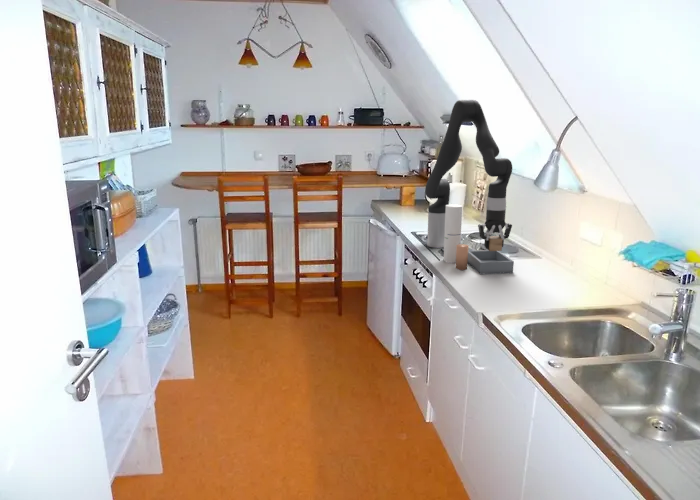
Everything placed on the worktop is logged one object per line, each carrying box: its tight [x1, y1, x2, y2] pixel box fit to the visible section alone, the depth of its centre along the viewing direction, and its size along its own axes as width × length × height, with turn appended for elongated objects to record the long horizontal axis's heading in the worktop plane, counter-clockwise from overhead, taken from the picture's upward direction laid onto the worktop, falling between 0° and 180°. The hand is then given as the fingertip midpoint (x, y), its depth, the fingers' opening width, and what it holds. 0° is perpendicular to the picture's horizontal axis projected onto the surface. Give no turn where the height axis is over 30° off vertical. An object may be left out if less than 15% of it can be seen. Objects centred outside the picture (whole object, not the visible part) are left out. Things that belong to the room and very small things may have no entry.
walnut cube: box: [487, 235, 503, 252], centre depth 205 cm, size 5×5×5 cm
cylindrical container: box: [443, 203, 463, 264], centre depth 219 cm, size 7×7×25 cm
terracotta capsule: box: [455, 243, 470, 271], centre depth 210 cm, size 5×5×10 cm
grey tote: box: [468, 249, 515, 275], centre depth 212 cm, size 18×14×5 cm
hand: (493, 248), depth 206 cm, fingers closed on walnut cube, 5 cm apart
